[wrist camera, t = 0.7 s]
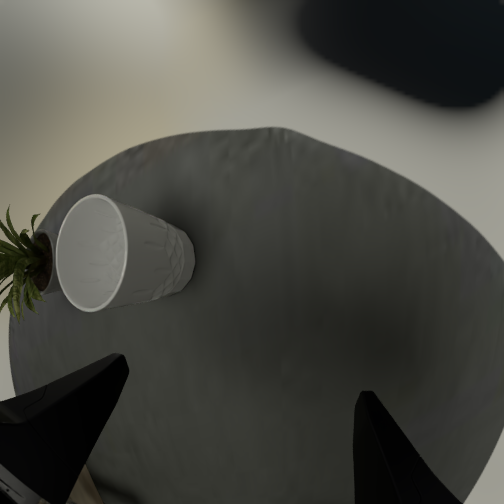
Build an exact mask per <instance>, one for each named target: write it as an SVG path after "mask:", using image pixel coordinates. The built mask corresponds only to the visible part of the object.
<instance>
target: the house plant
mask: <svg viewBox="0 0 504 504" xmlns="http://www.w3.org/2000/svg"><path fill="white" fill-rule="evenodd" d="M38 215H40V214H37V215H33V217H32V220H31V224H32V230H33V235H32V237H31V238H29V237H28V235H27V234H26V232H28V231H29V230H26V229H24V230H22V232H21V233H20V237H19V236H18V234H17V233H16V231H15V230H14V228H13V226H12V223H11V220H10V217H9V208H8V210H7V214H6V218H7V219H6V220H7V224H8V226H9V228H10V230H11V232H12V234H13V235H14V236H15V237H14V236H13V235H12V234H11V233H10V231H9V230H8V229H7V228H6V227H5V226H4V225H3V223H2V222H1V220H0V228H1V229H2V230H3V231H4V233H5V235H6V236H7V237H8V239H9V240H10V241H11V242H12V243H14V244H15V245H16V246H17V247H18V248H16V247H15V246H13V245H11V244H9V243H7V242H5V241H2V240H0V252H2V253H5V254H2V253H0V280H1V279H3V278H4V279H3V280H2V282H3V281H4V280H5V279H6V278H7V277H9V276H10V275H11V274H13V273H14V275H13V281H11V282H10V283H9V284H8V285H7V286H6V287H5V288H3V289H2V290H1V292H0V295H1V293H2V292H3V291H4V290H5V289H6V288H7V287H9V286H10V285H11V284H12V283H13V286H12V287H11V289H10V292H9V295H8V296H7V297H6V298H5V299H4V300H3V302H2V304H1V307H0V312H1V310H2V308H3V307H4V305H5V304H6V303H7V302H8V308H9V311H10V313H11V314H12V315H13V316H14V312H13V307H12V298H13V301H14V308H15V312H16V316H17V320H18V322H19V321H20V303H19V300H20V296H21V290H22V286H23V285H24V284H25V283H26V285H25V288H24V299H23V301H24V302H25V304H26V306H27V307H28V308H29V309H30V310H32V311H33V312H35V313H37V312H36V311H35V308H34V305H33V302H32V300H31V297H32V298H33V299H36V300H40V301H44V300H43V299H42V297H41V295H44V294H48V293H52V292H56V291H61V290H62V288H61V285H60V282H59V279H58V275H57V269H56V245H57V239H58V235H57V234H54V233H51V232H49V231H46V230H44V229H40V230H37V231H36V232H35V233H34V229H33V226H34V221H35V219H36V218H37V216H38ZM20 242H21V243H22V244H23V245H24V246H25V247H27V249H26V248H25V247H24V246H23V245H22V244H21V243H20ZM24 271H25V272H24ZM25 277H26V278H25ZM23 278H25V279H24V280H23ZM2 282H1V283H2ZM1 283H0V284H1ZM30 296H31V297H30ZM23 301H22V305H21V311H22V317H23V319H24V316H23ZM44 302H46V301H44ZM37 314H38V313H37ZM14 317H15V316H14Z"/></svg>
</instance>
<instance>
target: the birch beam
mask: <svg viewBox="0 0 504 504" xmlns="http://www.w3.org/2000/svg"><path fill="white" fill-rule="evenodd" d="M69 499H71V500H72V501H74V502H75V503H77V504H104V503H103V501H102V499H101V497H100V495H99V493H98V491H97V489H96V487H95V485H94V483H93V480H92V478H91V476H90V474H89V471H88V469H87V467H86V464H85V465H84V467H83V469H82V471H81V473H80V475H79V476H78V479H77V481H76V483H75V486H74V488H73V490H72V492H71V494H70V496H69ZM39 504H44V503H43V502H41V501H40V502H39Z"/></svg>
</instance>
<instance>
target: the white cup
mask: <svg viewBox="0 0 504 504" xmlns="http://www.w3.org/2000/svg"><path fill="white" fill-rule="evenodd" d="M194 266H195V255H194V247H193V244H192V243H191V241H190V239H189V238H188V236H187V234H186V233H185V232H184V231H182V230H181V229H179V228H177V227H176V226H174V225H172V224H169V223H167V222H165V221H164V220H162V219H160V218H157V217H155V216H152V215H150V214H148V213H146V212H144V211H141V210H139V209H136V208H134V207H131V206H129V205H126V204H124V203H121V202H119V201H116V200H114V199H111V198H109V197H106V196H104V195H100V194H92V195H88V196H86V197H84V198H82V199H81V200H79V201H78V202H77V203H76V204H75V205H74V206H73V207H72V208H71V209H70V211H69V212H68V214H67V215H66V217H65V219H64V221H63V223H62V226H61V228H60V232H59V235H58V239H57V245H56V269H57V275H58V279H59V282H60V285H61V288H62V290H63V292H64V294H65V295H66V297H67V298H68V300H69V301H70V302H71V303H72V304H73V305H74V306H75V307H77V308H78V309H80V310H82V311H86V312H96V311H101V310H106V309H112V308H117V307H123V306H128V305H134V304H139V303H143V302H147V301H152V300H156V299H159V298H162V297H168V296H170V295H173V294H175V293H177V292H180V291H182V289H183V288H184V287H185V286H186V284H187V283H188V282H189V281H190V279H191V277H192V274H193V270H194Z"/></svg>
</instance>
